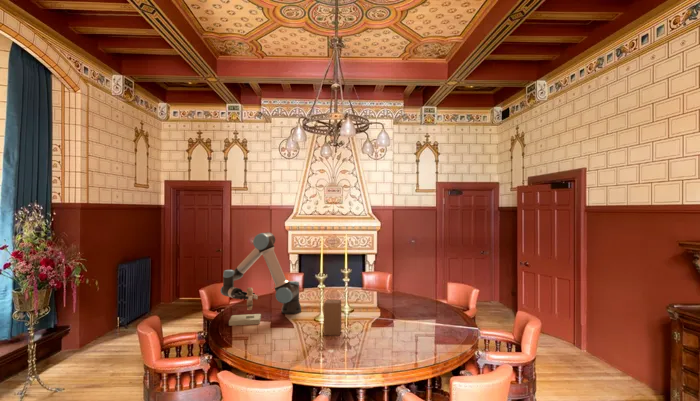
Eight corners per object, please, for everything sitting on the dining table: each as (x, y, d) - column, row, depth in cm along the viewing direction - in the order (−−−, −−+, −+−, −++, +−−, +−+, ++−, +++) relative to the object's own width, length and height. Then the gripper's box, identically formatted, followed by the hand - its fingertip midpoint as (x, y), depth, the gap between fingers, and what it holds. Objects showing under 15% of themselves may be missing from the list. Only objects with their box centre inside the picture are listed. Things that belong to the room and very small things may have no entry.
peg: (253, 308, 249) (253, 287, 249) (252, 310, 245) (252, 288, 245) (247, 309, 248) (247, 287, 249) (246, 310, 244) (246, 288, 245)
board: (260, 317, 254) (260, 313, 254) (259, 323, 241) (259, 319, 241) (232, 319, 251) (232, 315, 251) (228, 325, 237) (228, 321, 237)
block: (341, 330, 226) (341, 299, 226) (339, 336, 216) (339, 303, 216) (326, 330, 227) (326, 299, 227) (323, 335, 217) (323, 302, 217)
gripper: (245, 296, 265) (264, 301, 250) (224, 300, 252) (243, 305, 237) (245, 286, 265) (264, 290, 250) (225, 289, 252) (243, 294, 237)
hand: (254, 297), depth 243 cm, fingers closed on peg, 4 cm apart
